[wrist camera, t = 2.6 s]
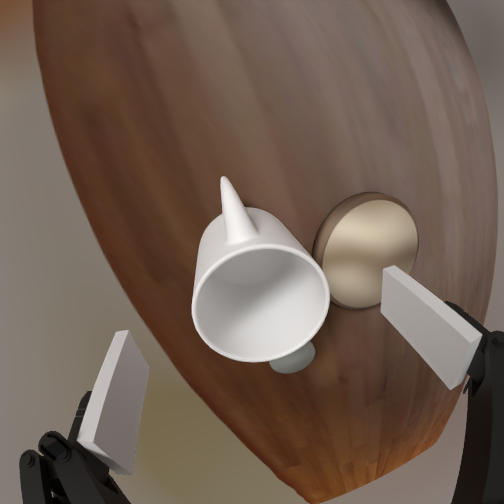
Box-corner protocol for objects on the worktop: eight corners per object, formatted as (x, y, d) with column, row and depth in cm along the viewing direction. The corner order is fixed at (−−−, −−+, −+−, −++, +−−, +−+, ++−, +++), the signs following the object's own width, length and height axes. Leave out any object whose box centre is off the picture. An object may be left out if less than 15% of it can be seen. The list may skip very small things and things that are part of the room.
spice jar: (254, 303, 28) (266, 346, 22) (292, 294, 29) (313, 334, 22) (261, 333, 30) (273, 377, 24) (296, 324, 30) (315, 366, 24)
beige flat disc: (304, 203, 25) (311, 207, 23) (410, 184, 26) (421, 188, 24) (316, 315, 30) (322, 325, 28) (407, 285, 31) (415, 292, 29)
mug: (269, 158, 23) (309, 165, 13) (295, 275, 28) (335, 340, 18) (175, 184, 23) (148, 211, 13) (214, 298, 28) (218, 374, 18)
